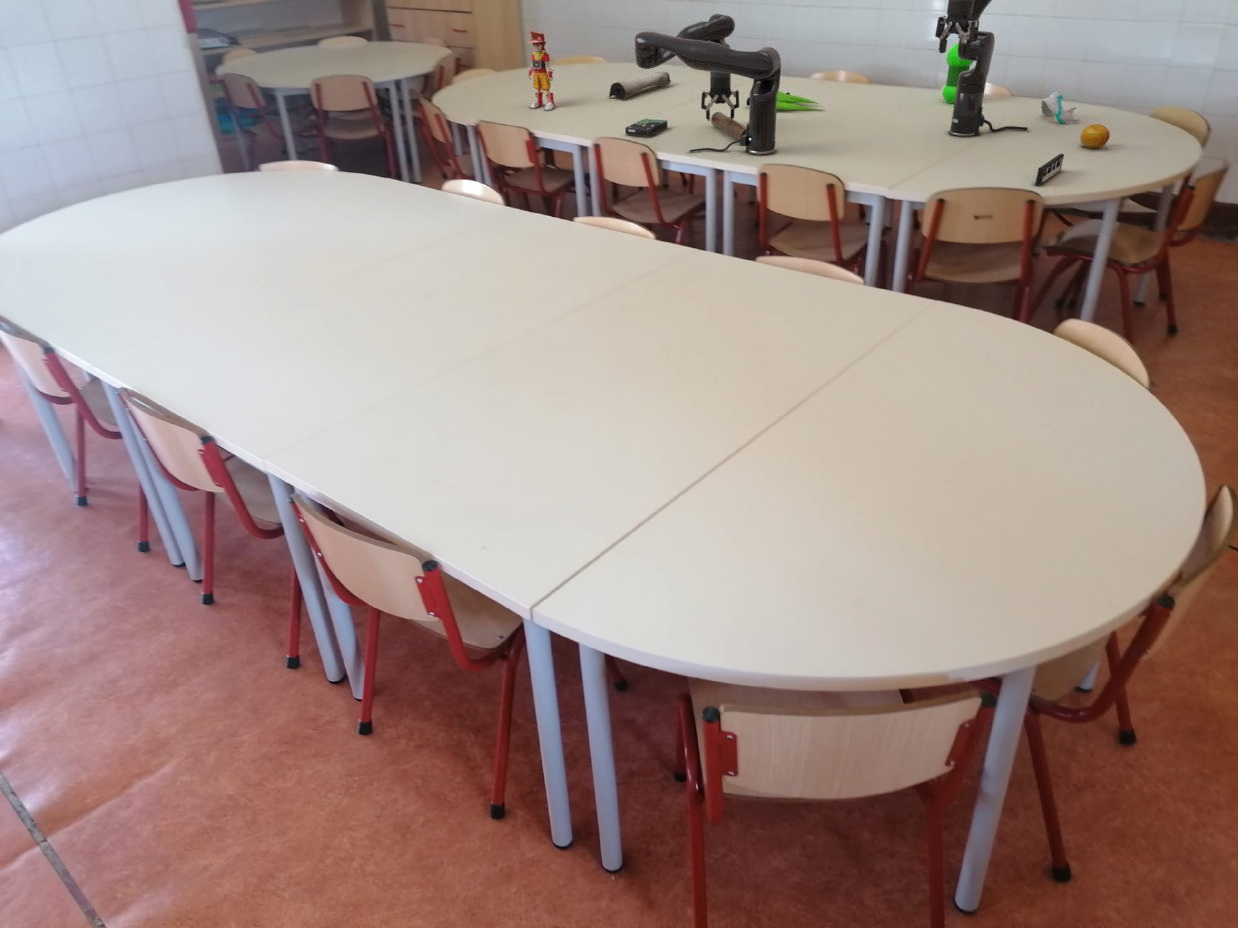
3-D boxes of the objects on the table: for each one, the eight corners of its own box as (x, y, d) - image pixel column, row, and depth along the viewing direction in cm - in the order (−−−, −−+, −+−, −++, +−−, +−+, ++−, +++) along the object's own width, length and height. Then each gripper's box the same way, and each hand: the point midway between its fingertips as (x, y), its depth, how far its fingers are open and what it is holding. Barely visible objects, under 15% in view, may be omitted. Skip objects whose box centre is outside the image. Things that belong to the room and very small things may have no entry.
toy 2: (737, 109, 358) (807, 121, 345) (739, 95, 355) (810, 107, 342) (766, 99, 378) (833, 110, 366) (767, 86, 375) (835, 96, 363)
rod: (754, 142, 322) (753, 127, 319) (740, 146, 321) (740, 130, 318) (724, 125, 344) (723, 110, 341) (711, 128, 343) (710, 113, 340)
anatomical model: (1035, 91, 328) (1062, 83, 328) (1034, 119, 334) (1061, 112, 334) (1054, 100, 316) (1083, 93, 315) (1053, 130, 322) (1081, 122, 321)
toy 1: (525, 109, 381) (517, 32, 364) (534, 104, 388) (527, 28, 371) (550, 110, 377) (543, 32, 360) (559, 105, 384) (553, 28, 367)
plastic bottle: (973, 101, 354) (984, 32, 339) (955, 106, 349) (966, 36, 335) (952, 97, 361) (962, 29, 346) (934, 102, 356) (944, 33, 342)
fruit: (1076, 138, 294) (1094, 116, 291) (1073, 141, 302) (1090, 120, 299) (1098, 153, 293) (1116, 131, 290) (1095, 155, 300) (1112, 134, 297)
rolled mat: (651, 76, 408) (662, 61, 399) (662, 93, 408) (674, 79, 400) (605, 92, 391) (616, 77, 383) (617, 110, 391) (628, 95, 383)
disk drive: (648, 138, 335) (668, 127, 345) (648, 130, 333) (667, 120, 343) (625, 135, 340) (644, 125, 350) (624, 127, 338) (644, 117, 348)
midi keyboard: (1039, 185, 269) (1043, 168, 266) (1035, 184, 270) (1038, 168, 267) (1060, 170, 279) (1064, 154, 277) (1056, 169, 280) (1060, 153, 277)
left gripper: (739, 71, 333) (738, 117, 342) (701, 73, 334) (701, 118, 344) (740, 76, 327) (739, 122, 336) (700, 77, 328) (700, 123, 338)
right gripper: (935, -3, 279) (927, 53, 288) (972, 1, 269) (963, 59, 278) (951, -6, 282) (943, 50, 291) (989, -2, 272) (979, 56, 281)
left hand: (720, 120), depth 340 cm, fingers open, 8 cm apart
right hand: (953, 54), depth 285 cm, fingers open, 8 cm apart
